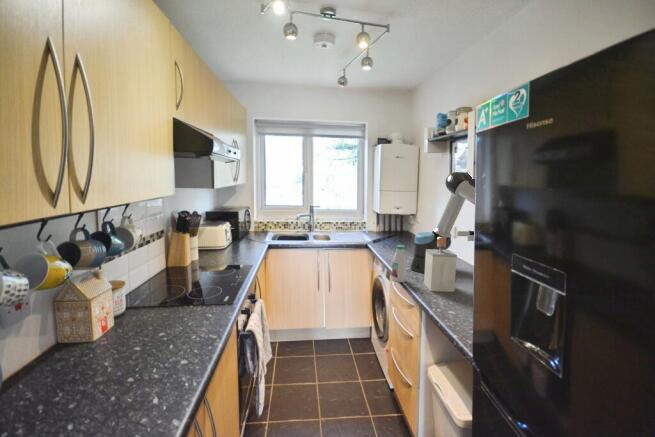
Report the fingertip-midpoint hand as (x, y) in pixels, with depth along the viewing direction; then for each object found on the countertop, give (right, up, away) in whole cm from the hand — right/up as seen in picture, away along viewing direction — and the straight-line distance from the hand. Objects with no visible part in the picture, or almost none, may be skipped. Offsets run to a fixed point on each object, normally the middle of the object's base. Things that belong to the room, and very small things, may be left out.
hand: (462, 235), depth 166 cm
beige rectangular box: (-11, -28, +2) cm, 30 cm away
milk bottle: (-30, -26, +14) cm, 42 cm away
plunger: (-11, -27, +3) cm, 29 cm away
